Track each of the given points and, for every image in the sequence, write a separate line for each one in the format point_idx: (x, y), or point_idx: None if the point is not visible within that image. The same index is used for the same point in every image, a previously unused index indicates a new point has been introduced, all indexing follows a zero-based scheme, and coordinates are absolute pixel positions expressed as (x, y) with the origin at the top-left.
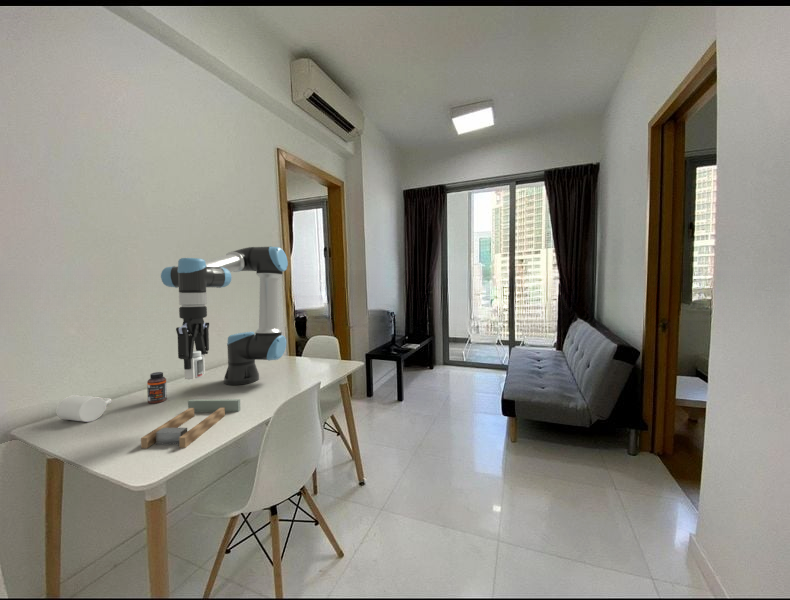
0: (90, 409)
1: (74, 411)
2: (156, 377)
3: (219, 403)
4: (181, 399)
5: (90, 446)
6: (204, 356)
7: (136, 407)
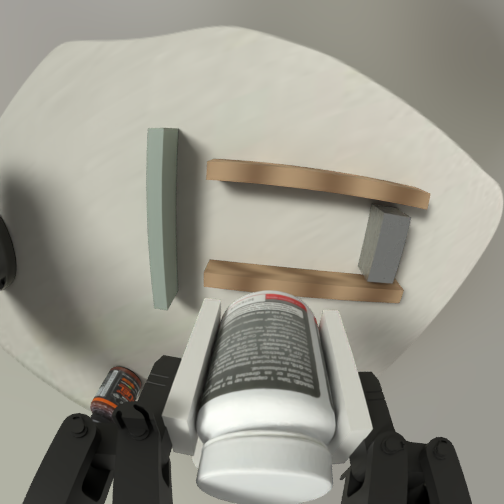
0: None
1: None
2: (110, 421)
3: (165, 201)
4: (106, 339)
5: None
6: (169, 399)
7: None
